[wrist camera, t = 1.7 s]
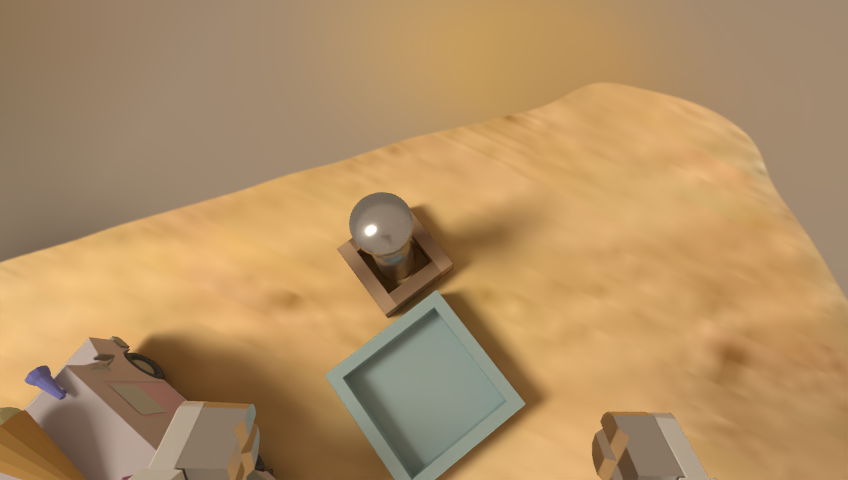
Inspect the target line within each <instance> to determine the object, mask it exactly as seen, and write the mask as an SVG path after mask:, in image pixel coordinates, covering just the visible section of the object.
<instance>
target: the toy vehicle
mask: <svg viewBox="0 0 848 480" xmlns="http://www.w3.org/2000/svg"><path fill="white" fill-rule="evenodd" d="M129 347H130V346H128V345H127V344H126V343H125V342H124V341H123V340H121V339H120V338H119V337H113V336H112V337H111V338H110V340H106V339H98V338H90V337H89V338H88V339H87V340H86V341H85V343H84V344H83V345H82V346H81V347H80V348H79V349H78V350H77V352H76V353H75V354H74V355H73V356H72V357H71V358H70V359H69V360H68V362H67V363H66V364H65V365H64V366H63V367H62V368H61V369H60V370H59V372H58V373H57V374H56V375H55V376H54V377H53V378H52V377H51V372H50V370H49V368H48V367H47V366H40V367H38V368H36V369H34V370H33V371H32V372H30V373H29V374H28V376H27V377H26V379H25V382H26V383H28V384H30V385H34V386H38V387H39V388H41V389H42V391H41V392H40V393H39V394H38V395H37V396H36V397H35V398H34V399H33V401H32V402H31V403H30V404H29V405H28V406H27V407H26V408H25V409H24V411H22V410H20V409H18V408H12V407H6V408H0V480H128V479H129V478H130V477H131V476H133V475H134V474H135V473H136V472H138V471H139V470H140V469H148V468H149V466H150V464H151V462H152V460H153V458H154V456H155V454H156V451H157V449H158V447H159V445H160V443H161V441H162V439H163V437H164V435H165V433H166V431H167V429H168V427H169V425H170V423H171V421H172V419H173V417H174V415H175V413H176V411H177V409H178V407H179V406H180V405H181V404H182V403H183V402H184V401H187V400H186V399H185V398H184V397H183V396H182V395H180V394H179V393H178V392H177V391H176V390H175V389H174V388H173V387H171V386H170V385H169V384H168V383H167V382H166V381H165V380H163V377H164V373H163V371H162V370H161V369H160V367H159V366H158V365H156V364H155V363H154V362H153V361H151V360H149V359H148V358H146V357H144V356H142V355H139V354H137V353H127V352H128V351H129V350H130V349H128V348H129ZM263 468H264V463H263V461H262V459H261V457H260V456H259V455H258V457H257V461H256V464H255V468H254V470H253V471H252V472H251V473H250V474H248V475H247V476H246V478H247V480H276V479H275V478H274V477H273V476H272V475H271V474H272V473H273V470H272V469H270V470H268V471H265V472H263Z"/></svg>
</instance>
